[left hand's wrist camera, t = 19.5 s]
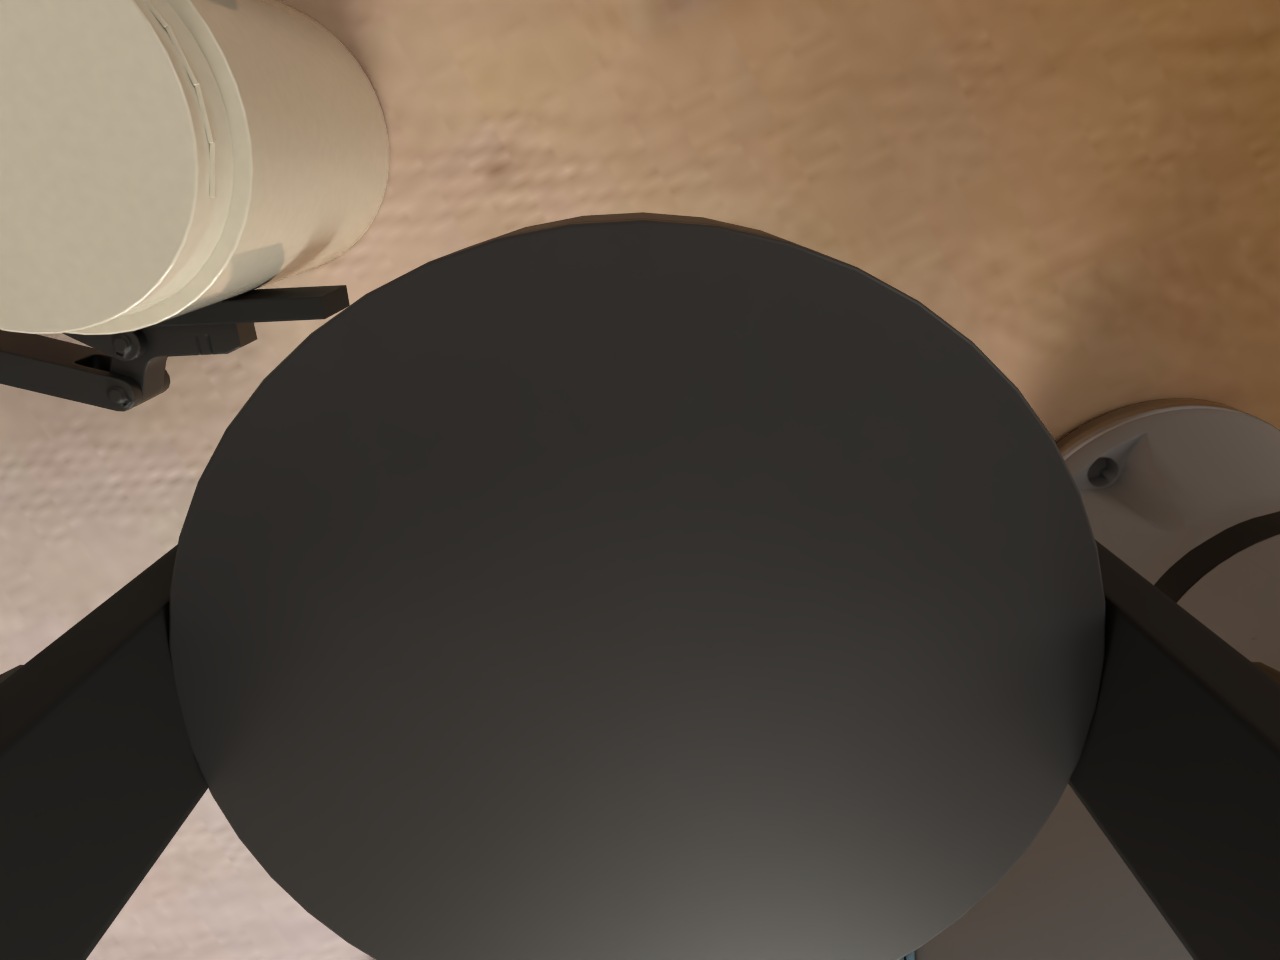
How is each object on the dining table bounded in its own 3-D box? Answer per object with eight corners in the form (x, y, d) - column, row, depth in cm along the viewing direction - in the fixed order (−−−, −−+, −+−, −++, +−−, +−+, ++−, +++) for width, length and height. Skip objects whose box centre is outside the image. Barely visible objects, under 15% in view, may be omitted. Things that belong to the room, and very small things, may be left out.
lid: (407, 954, 14) (368, 1087, 12) (113, 338, 11) (-18, 376, 8) (1052, 830, 13) (1129, 950, 11) (980, 105, 10) (1073, 83, 8)
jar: (314, -49, 31) (45, -230, 16) (432, 222, 34) (296, 267, 20) (75, 55, 32) (-371, -29, 17) (214, 306, 35) (-61, 407, 21)
